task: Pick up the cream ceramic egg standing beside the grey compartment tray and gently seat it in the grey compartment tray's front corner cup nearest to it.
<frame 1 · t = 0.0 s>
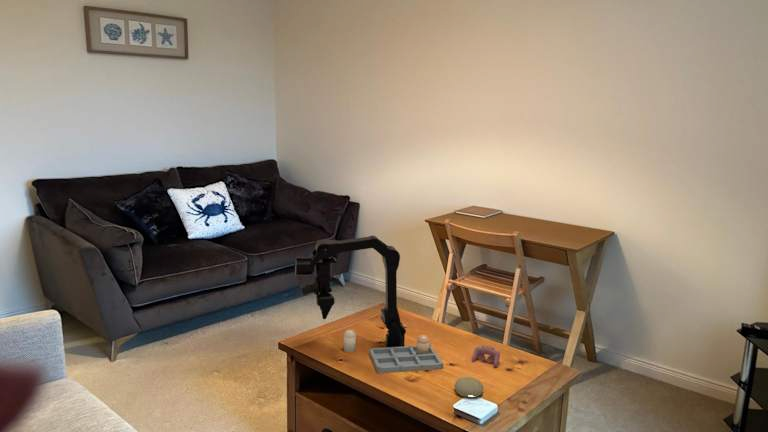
hand: (322, 314, 220), 15 cm above the table, tool pointing down, fingers open, 9 cm apart
video game controller: (485, 363, 218), on the table
sea urchin shell: (468, 393, 196), on the table
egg: (349, 349, 225), on the table
grey compartment tray: (387, 367, 211), on the table
beige rounded cylinder: (422, 354, 222), resting on grey compartment tray
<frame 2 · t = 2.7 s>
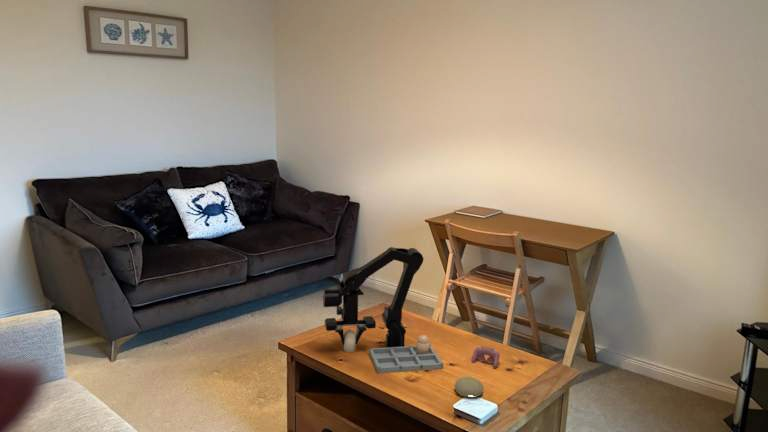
hand: (349, 344, 225), 2 cm above the table, tool pointing down, fingers closed on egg, 5 cm apart
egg: (349, 349, 225), on the table, touching gripper
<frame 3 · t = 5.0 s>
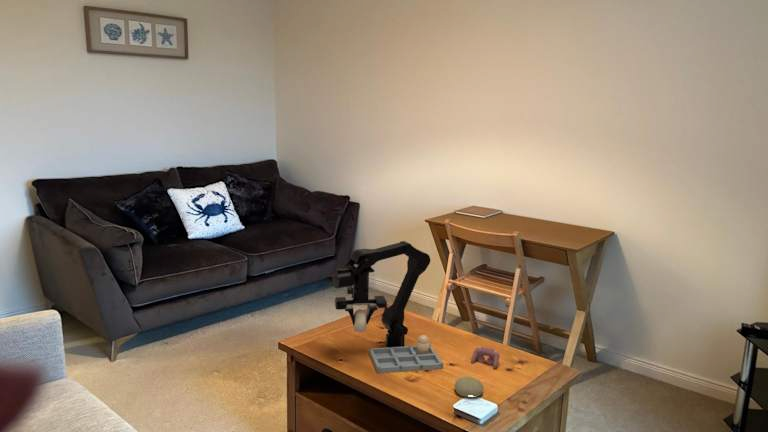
hand: (360, 324, 219), 12 cm above the table, tool pointing down, fingers closed on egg, 5 cm apart
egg: (360, 329, 219), point 10 cm above the table, touching gripper
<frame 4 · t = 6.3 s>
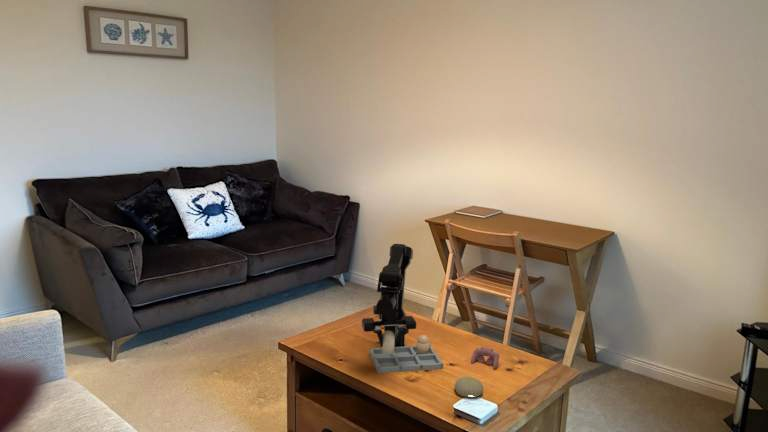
hand: (388, 346, 210), 8 cm above the table, tool pointing down, fingers closed on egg, 5 cm apart
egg: (387, 351, 210), point 6 cm above the table, touching gripper
when the fingers open (3 cm above the table, at t = 7.5 s): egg stays where it is, resting on grey compartment tray.
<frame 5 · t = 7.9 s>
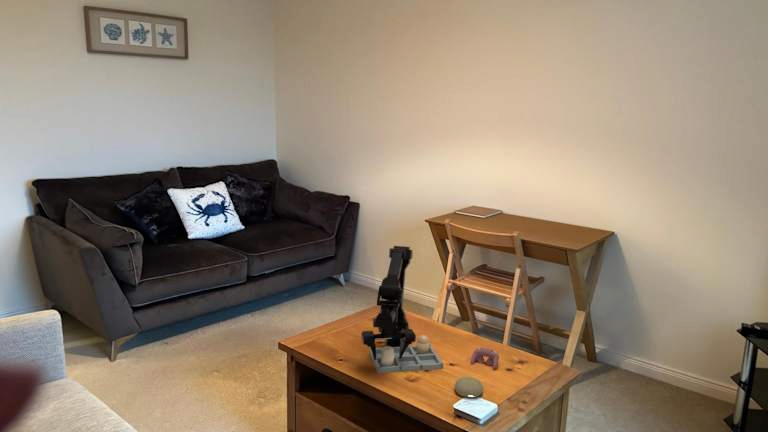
hand: (387, 358, 211), 3 cm above the table, tool pointing down, fingers open, 9 cm apart
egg: (387, 366, 211), resting on grey compartment tray
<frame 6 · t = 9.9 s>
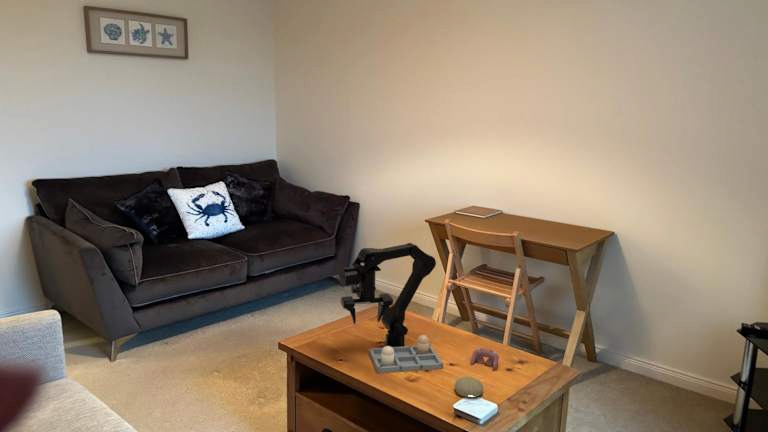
hand: (366, 322, 220), 12 cm above the table, tool pointing down, fingers open, 9 cm apart
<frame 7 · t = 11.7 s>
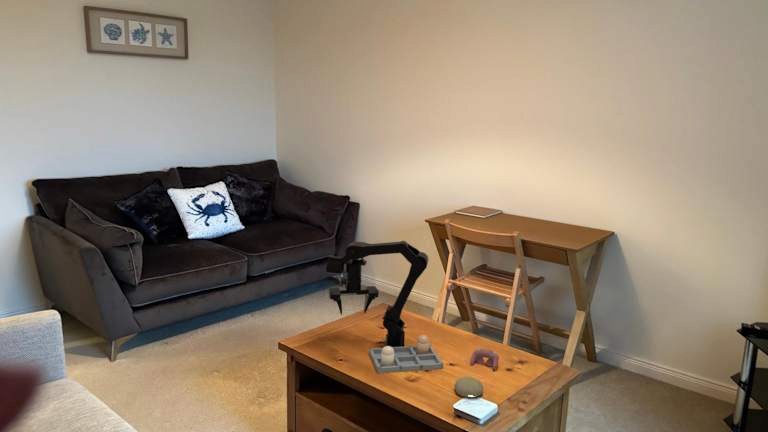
hand: (353, 313, 229), 12 cm above the table, tool pointing down, fingers open, 9 cm apart
at the end: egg 0.0 cm off-centre on the grey compartment tray, point 0.4 cm above the grey compartment tray's base; the gripper is holding nothing; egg tilted 0° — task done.
